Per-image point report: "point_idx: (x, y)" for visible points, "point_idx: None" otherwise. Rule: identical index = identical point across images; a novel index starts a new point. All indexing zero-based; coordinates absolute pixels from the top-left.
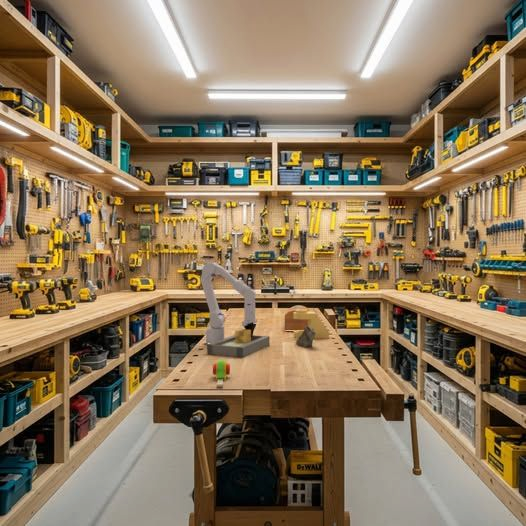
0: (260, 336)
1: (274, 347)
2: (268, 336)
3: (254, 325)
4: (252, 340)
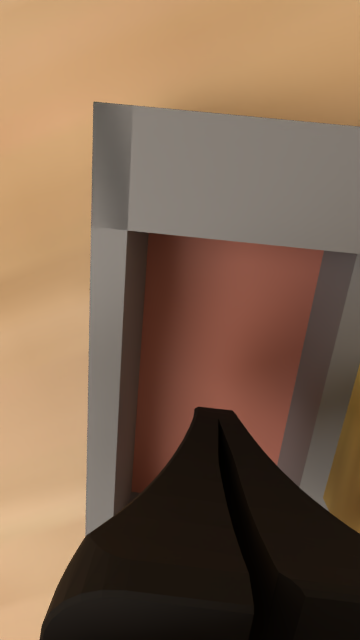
0: (125, 292)
1: (263, 4)
2: (94, 125)
3: (245, 573)
4: (131, 394)
